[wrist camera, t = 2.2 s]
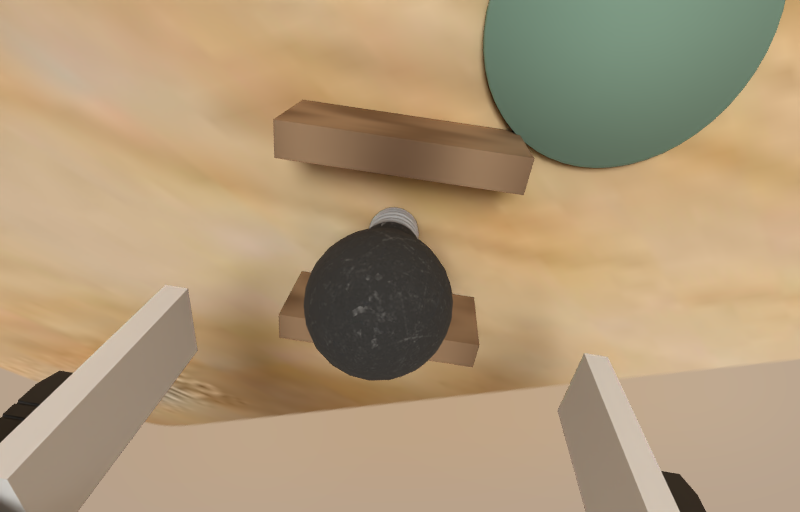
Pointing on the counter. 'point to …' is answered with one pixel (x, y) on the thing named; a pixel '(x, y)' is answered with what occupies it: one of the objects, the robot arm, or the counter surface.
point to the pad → (620, 71)
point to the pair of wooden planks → (405, 157)
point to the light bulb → (379, 300)
